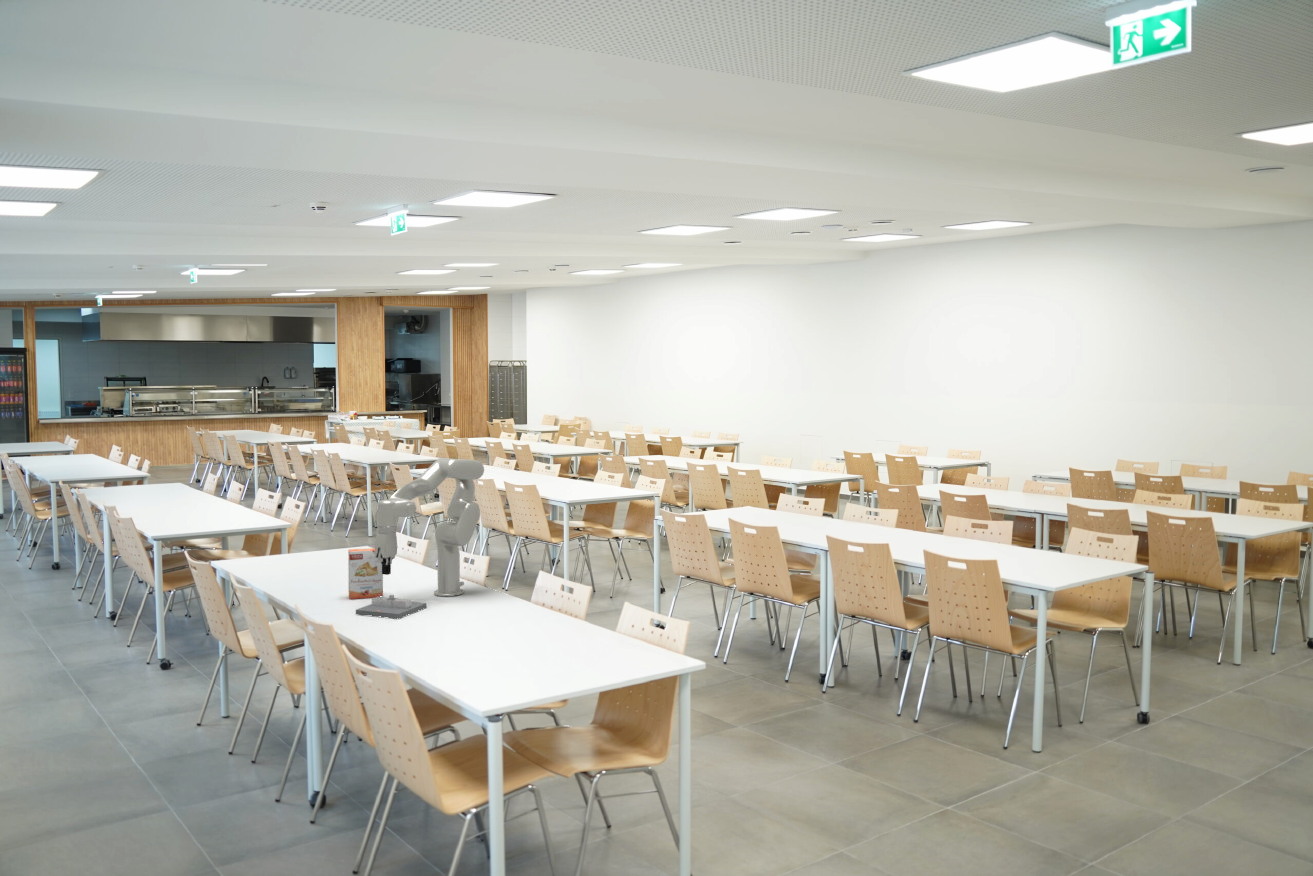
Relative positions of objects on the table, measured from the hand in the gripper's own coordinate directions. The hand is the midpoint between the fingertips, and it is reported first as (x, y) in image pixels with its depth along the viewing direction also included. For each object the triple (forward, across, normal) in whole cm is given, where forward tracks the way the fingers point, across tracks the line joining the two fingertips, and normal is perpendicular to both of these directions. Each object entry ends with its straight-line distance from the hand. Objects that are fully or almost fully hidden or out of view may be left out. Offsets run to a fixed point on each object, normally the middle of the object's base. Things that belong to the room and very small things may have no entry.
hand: (386, 574), depth 407 cm
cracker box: (+14, -12, -18) cm, 26 cm away
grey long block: (+12, +6, +7) cm, 15 cm away
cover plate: (+14, +6, +7) cm, 16 cm away
